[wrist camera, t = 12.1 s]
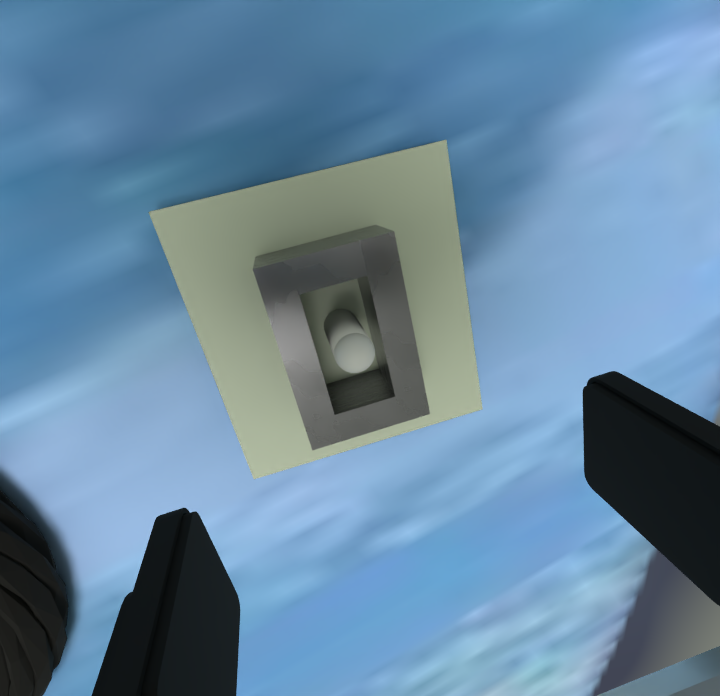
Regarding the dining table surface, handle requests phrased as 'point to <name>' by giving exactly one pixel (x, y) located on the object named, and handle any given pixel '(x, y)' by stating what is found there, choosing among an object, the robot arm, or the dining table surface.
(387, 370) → the grey rectangular frame
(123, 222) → the dining table surface
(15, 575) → the cable lock
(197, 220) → the keeper board
